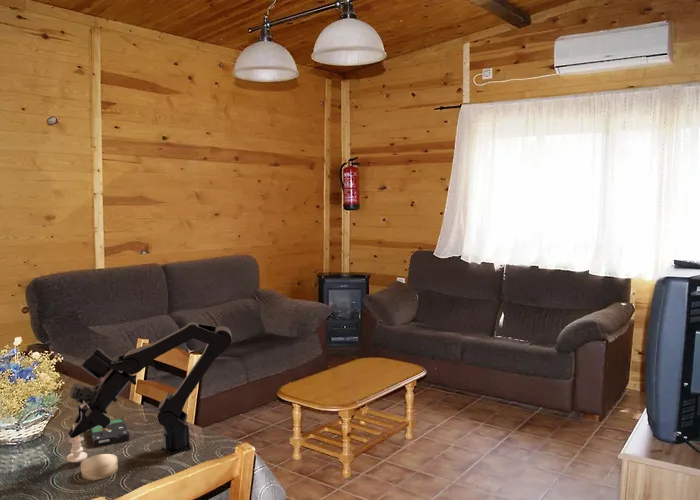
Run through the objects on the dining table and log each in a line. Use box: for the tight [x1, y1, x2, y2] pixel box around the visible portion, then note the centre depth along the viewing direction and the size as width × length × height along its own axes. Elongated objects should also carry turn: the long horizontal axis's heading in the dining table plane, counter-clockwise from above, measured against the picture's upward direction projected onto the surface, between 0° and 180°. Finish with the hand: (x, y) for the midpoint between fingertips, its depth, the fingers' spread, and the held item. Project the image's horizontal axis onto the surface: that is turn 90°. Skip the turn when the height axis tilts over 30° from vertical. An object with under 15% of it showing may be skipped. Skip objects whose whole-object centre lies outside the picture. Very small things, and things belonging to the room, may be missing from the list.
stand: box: [80, 453, 119, 481], centre depth 162 cm, size 9×9×3 cm
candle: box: [66, 422, 88, 463], centre depth 167 cm, size 5×5×10 cm
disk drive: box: [88, 417, 131, 448], centre depth 187 cm, size 10×3×15 cm
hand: (70, 436), depth 166 cm, fingers closed on candle
